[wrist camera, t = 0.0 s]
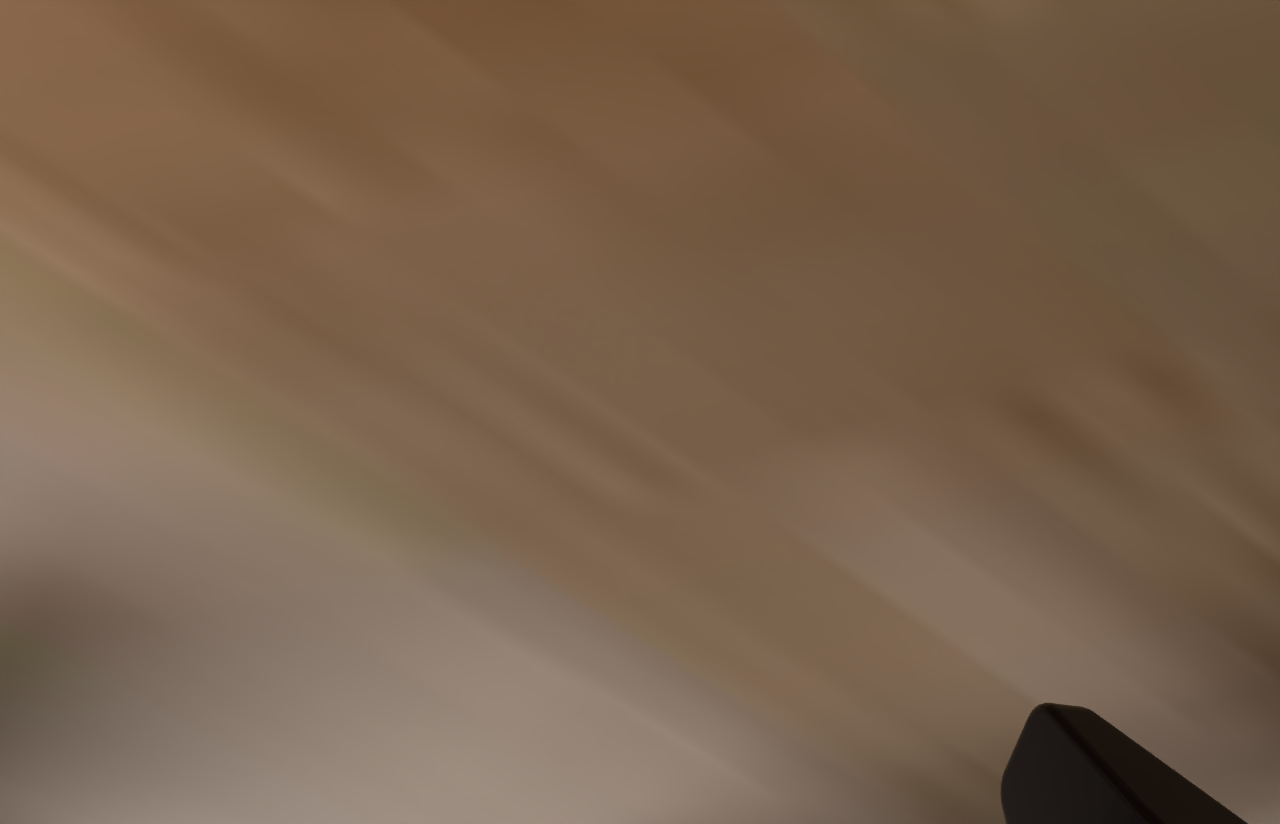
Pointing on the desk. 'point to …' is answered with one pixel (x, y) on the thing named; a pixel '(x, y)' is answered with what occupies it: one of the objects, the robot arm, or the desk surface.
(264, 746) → the desk surface
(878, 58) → the desk surface
